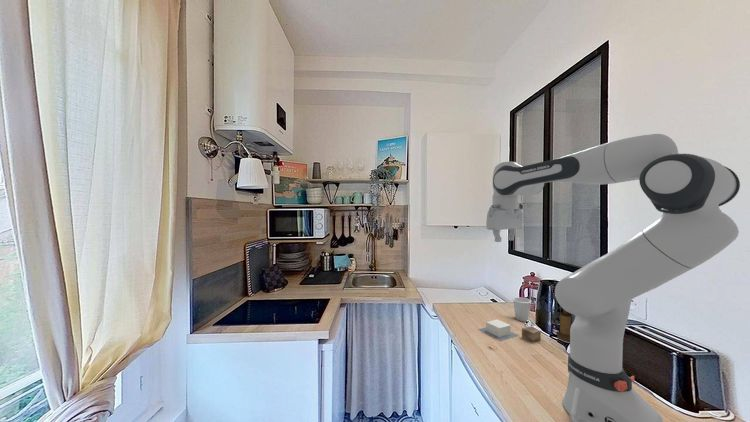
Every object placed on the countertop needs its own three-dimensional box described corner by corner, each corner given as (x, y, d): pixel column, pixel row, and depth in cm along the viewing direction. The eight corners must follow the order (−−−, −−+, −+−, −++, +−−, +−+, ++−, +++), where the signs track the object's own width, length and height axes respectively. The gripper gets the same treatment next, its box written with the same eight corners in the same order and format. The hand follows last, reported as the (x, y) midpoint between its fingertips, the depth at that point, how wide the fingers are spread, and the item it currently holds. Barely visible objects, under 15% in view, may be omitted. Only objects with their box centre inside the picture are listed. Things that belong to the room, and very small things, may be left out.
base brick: (510, 334, 118) (510, 325, 118) (499, 337, 115) (499, 328, 115) (496, 327, 124) (497, 319, 124) (486, 330, 121) (486, 322, 121)
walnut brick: (540, 342, 113) (540, 330, 113) (533, 345, 111) (533, 333, 111) (529, 337, 117) (529, 326, 117) (521, 339, 115) (521, 328, 115)
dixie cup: (515, 321, 134) (515, 301, 134) (510, 315, 142) (510, 296, 142) (533, 323, 132) (533, 303, 132) (528, 316, 140) (528, 297, 140)
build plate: (519, 337, 117) (519, 335, 117) (500, 343, 111) (500, 341, 111) (496, 327, 128) (496, 324, 128) (477, 331, 122) (477, 329, 122)
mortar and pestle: (568, 345, 111) (568, 301, 111) (552, 338, 117) (553, 297, 117) (578, 342, 113) (578, 300, 113) (562, 335, 119) (563, 295, 119)
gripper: (498, 204, 94) (498, 243, 94) (525, 205, 106) (525, 240, 106) (481, 204, 99) (481, 241, 99) (510, 205, 111) (509, 238, 111)
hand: (504, 241), depth 103 cm, fingers open, 8 cm apart
